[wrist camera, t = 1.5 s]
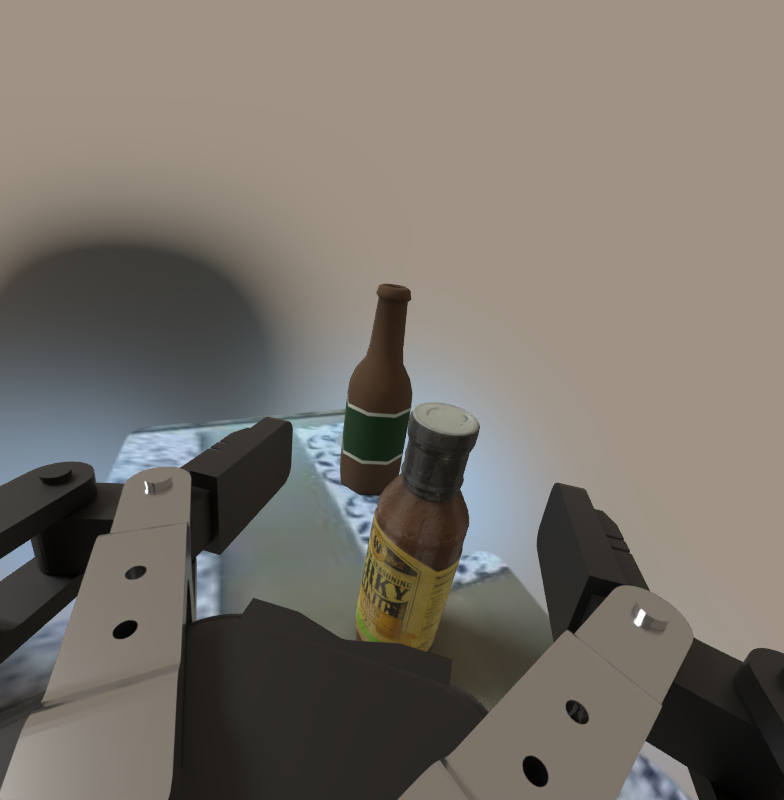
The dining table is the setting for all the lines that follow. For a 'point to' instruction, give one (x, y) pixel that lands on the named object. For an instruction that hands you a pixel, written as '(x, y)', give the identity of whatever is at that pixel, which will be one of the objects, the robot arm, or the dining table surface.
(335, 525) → the dining table surface
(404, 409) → the beer bottle
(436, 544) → the sauce bottle
